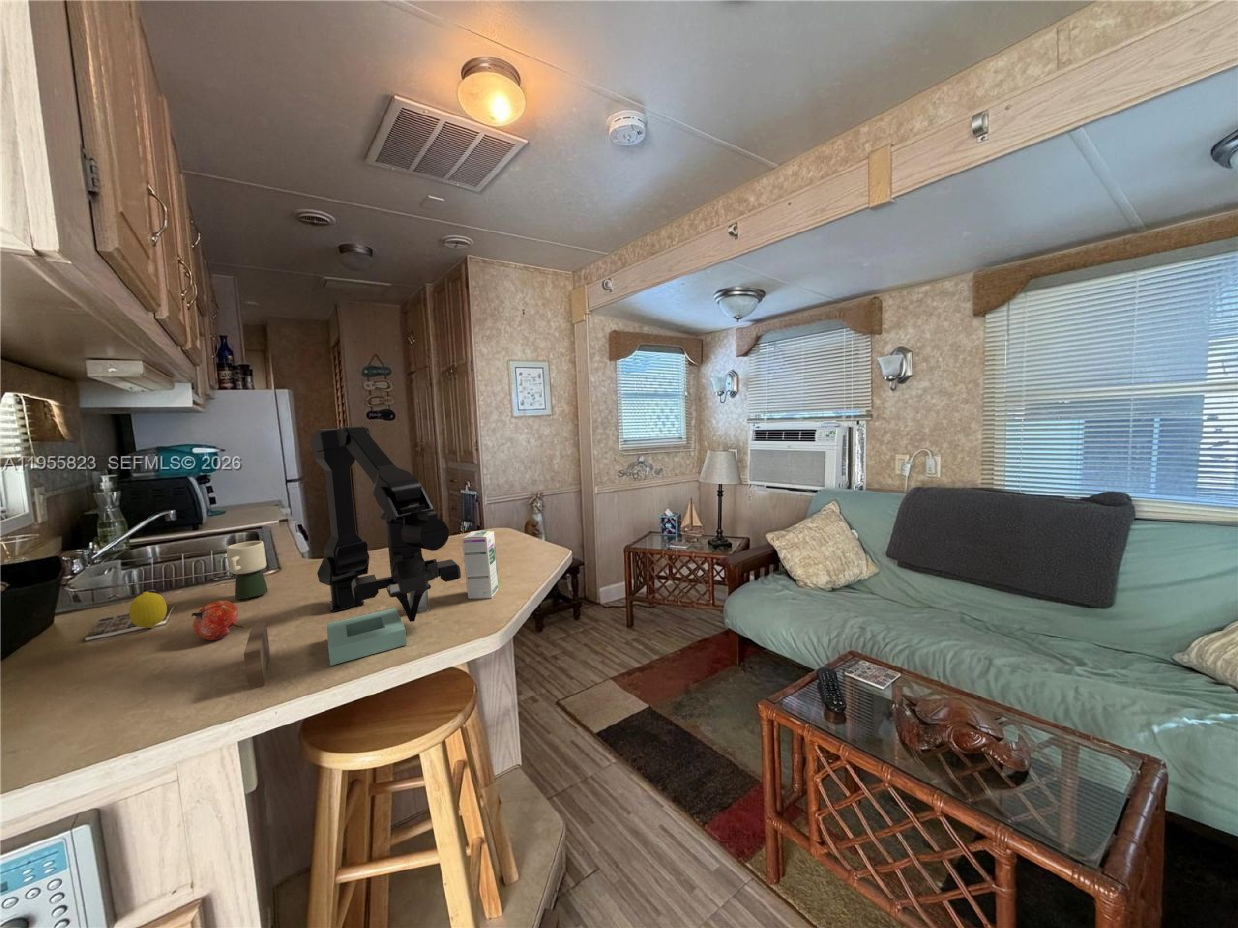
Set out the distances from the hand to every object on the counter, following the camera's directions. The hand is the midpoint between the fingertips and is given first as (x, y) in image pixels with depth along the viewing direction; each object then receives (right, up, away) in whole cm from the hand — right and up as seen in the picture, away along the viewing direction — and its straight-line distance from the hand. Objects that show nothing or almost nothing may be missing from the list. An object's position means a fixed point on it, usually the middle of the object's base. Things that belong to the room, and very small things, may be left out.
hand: (411, 620), depth 92 cm
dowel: (-3, -1, +10) cm, 11 cm away
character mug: (-49, -2, +22) cm, 54 cm away
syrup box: (+9, 0, +18) cm, 20 cm away
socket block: (-7, -3, -4) cm, 8 cm away
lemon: (-57, -4, +6) cm, 58 cm away
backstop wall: (-20, -4, -13) cm, 24 cm away
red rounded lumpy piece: (-39, -4, +1) cm, 39 cm away
